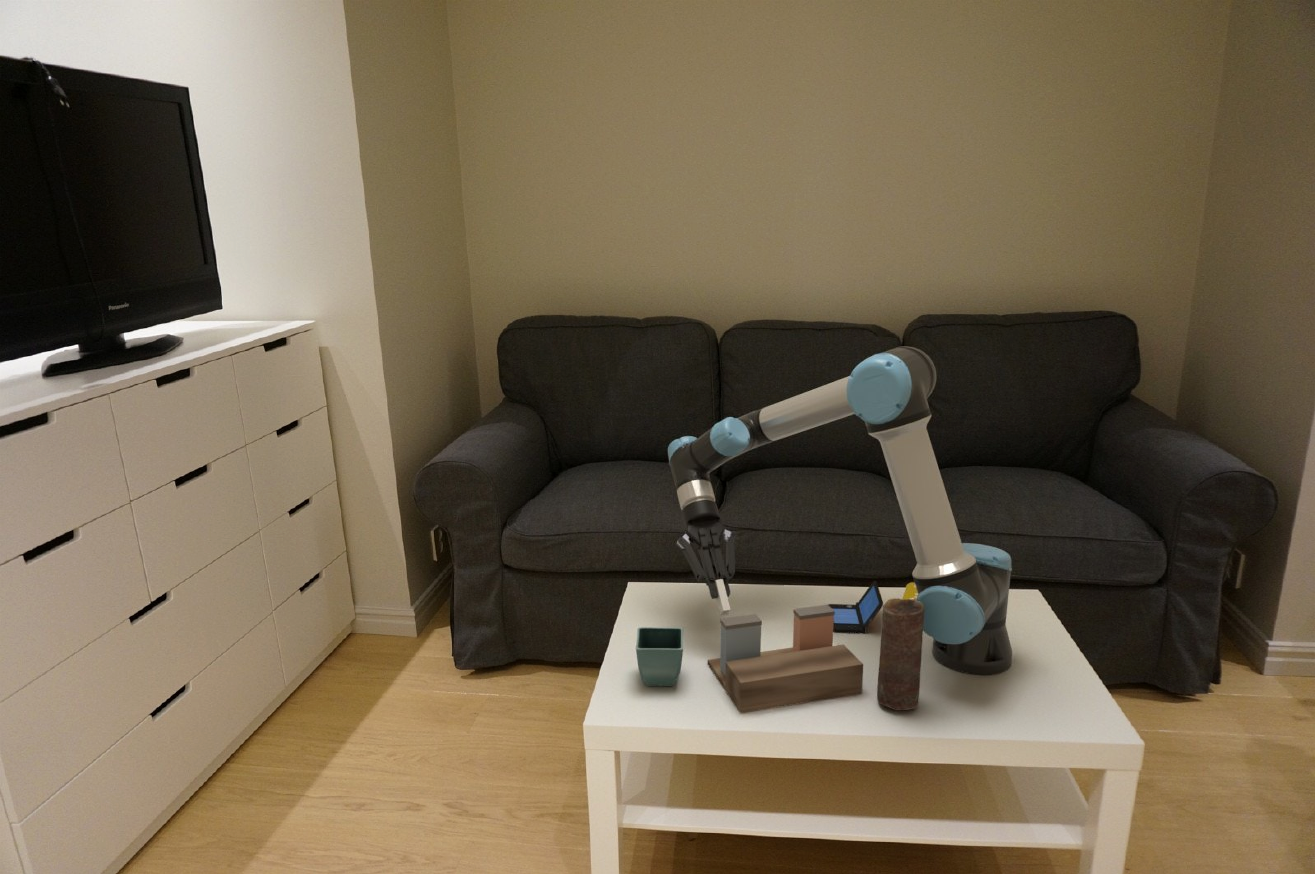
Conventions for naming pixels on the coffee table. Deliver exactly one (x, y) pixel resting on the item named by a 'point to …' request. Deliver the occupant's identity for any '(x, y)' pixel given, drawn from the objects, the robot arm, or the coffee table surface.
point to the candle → (900, 654)
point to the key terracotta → (813, 627)
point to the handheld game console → (857, 612)
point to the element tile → (910, 592)
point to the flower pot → (659, 655)
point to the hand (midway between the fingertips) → (725, 612)
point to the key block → (790, 677)
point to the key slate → (740, 638)
